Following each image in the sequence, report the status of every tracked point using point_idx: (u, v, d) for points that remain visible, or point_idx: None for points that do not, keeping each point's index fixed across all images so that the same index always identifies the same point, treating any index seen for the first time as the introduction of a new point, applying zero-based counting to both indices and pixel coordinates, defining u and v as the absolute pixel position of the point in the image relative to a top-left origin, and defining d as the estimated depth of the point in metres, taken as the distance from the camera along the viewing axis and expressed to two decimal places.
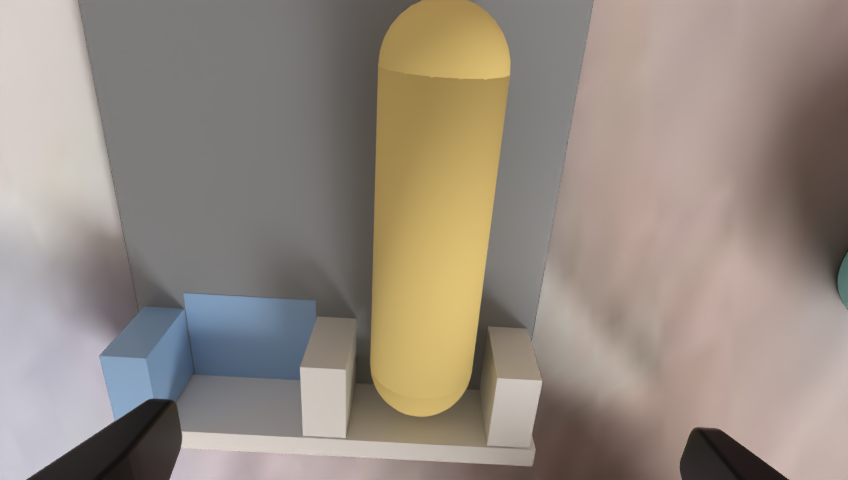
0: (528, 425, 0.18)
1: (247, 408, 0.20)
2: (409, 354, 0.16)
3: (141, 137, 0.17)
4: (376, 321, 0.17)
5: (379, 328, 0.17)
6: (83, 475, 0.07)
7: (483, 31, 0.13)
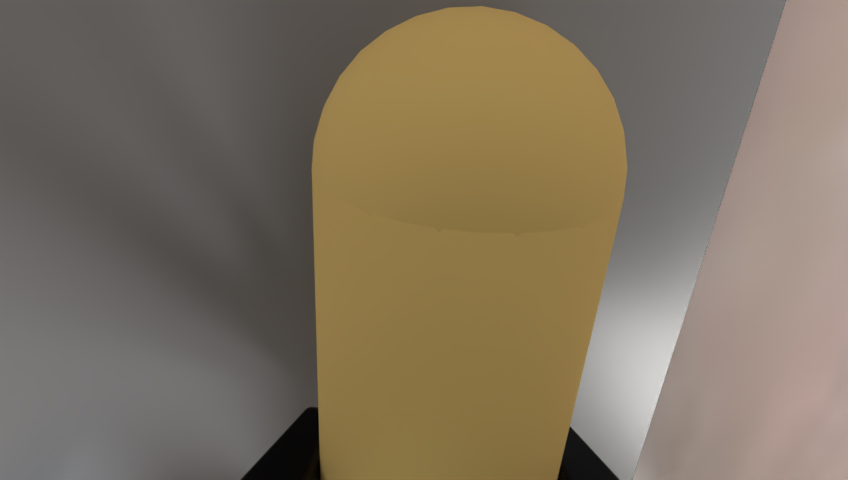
0: None
1: None
2: None
3: None
4: None
5: None
6: None
7: (578, 102, 0.05)
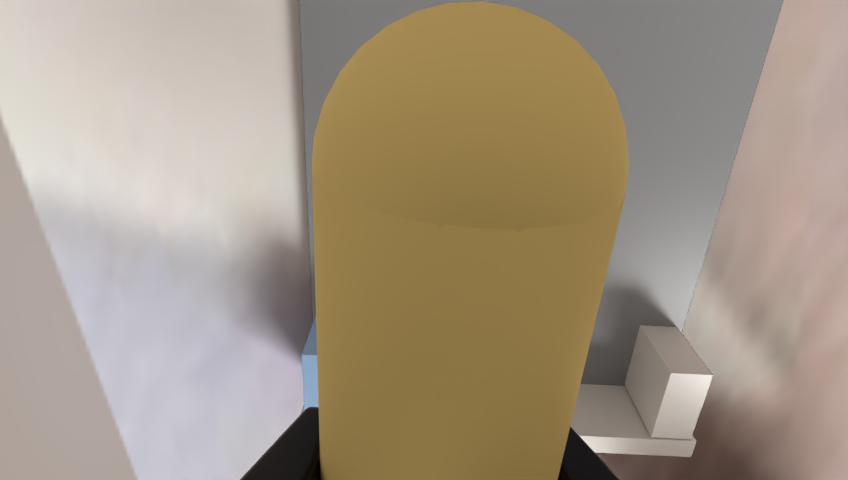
0: (693, 417, 0.19)
1: None
2: None
3: None
4: None
5: None
6: None
7: (580, 97, 0.05)
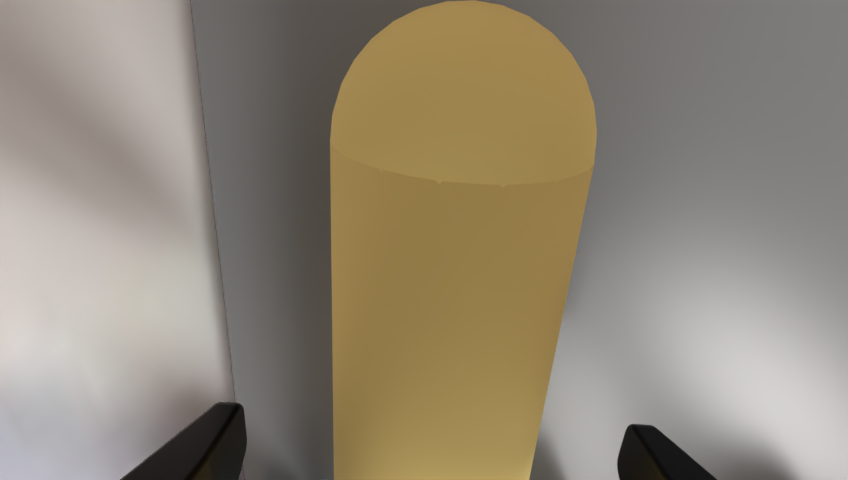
0: None
1: None
2: None
3: (281, 263, 0.10)
4: None
5: None
6: None
7: (553, 77, 0.06)
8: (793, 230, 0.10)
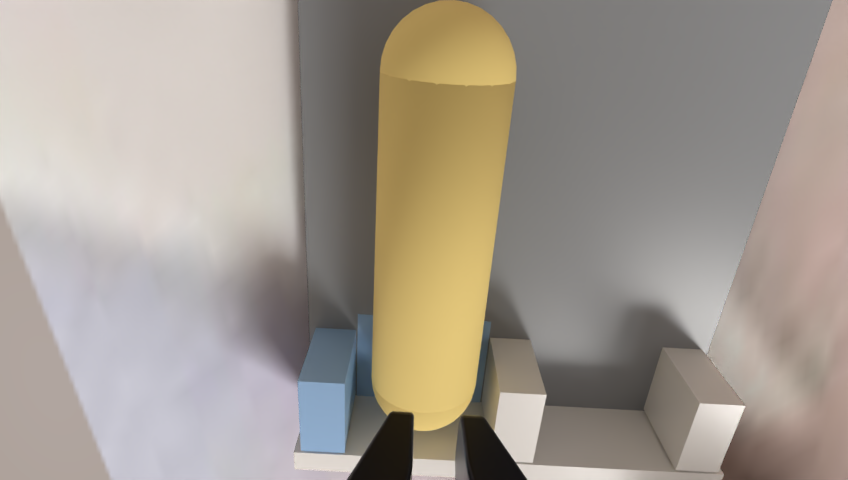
0: (721, 450, 0.18)
1: (422, 431, 0.19)
2: (412, 368, 0.16)
3: (340, 159, 0.17)
4: (378, 334, 0.16)
5: (381, 341, 0.16)
6: None
7: (489, 36, 0.12)
8: (647, 137, 0.16)
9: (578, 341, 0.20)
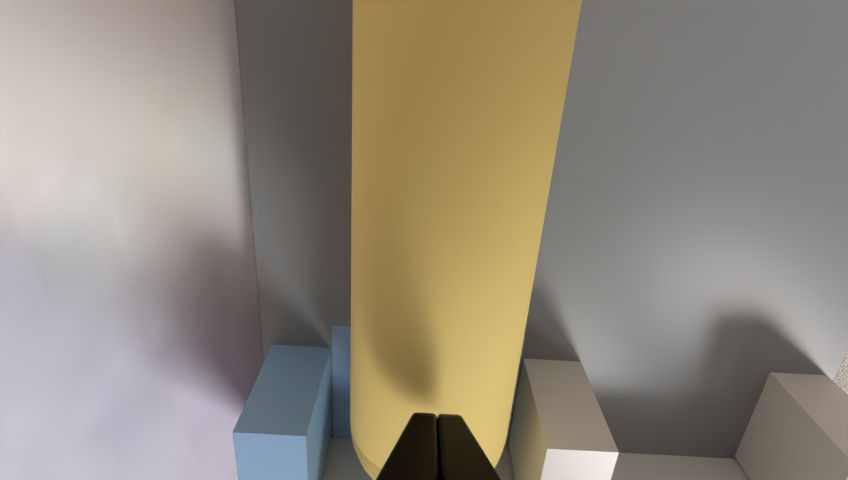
0: None
1: None
2: None
3: (299, 86, 0.11)
4: (357, 360, 0.10)
5: (363, 372, 0.10)
6: None
7: None
8: (781, 50, 0.10)
9: (649, 364, 0.14)
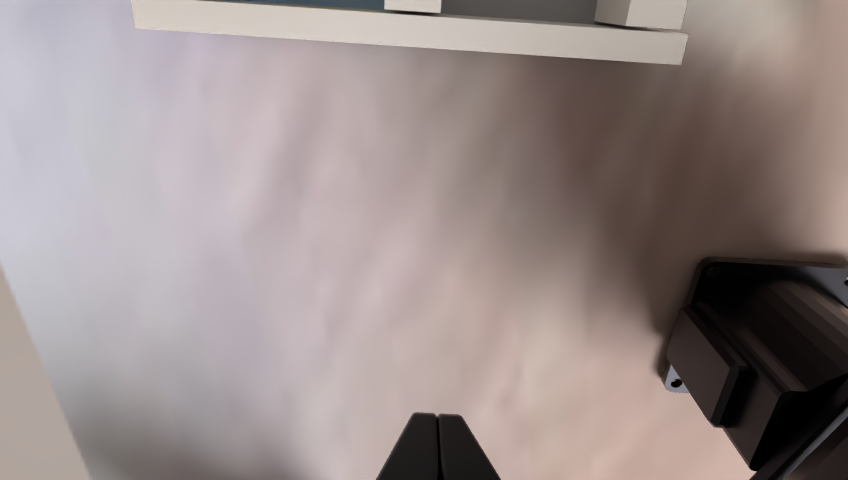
0: None
1: (306, 6, 0.15)
2: None
3: None
4: None
5: None
6: None
7: None
8: None
9: None
